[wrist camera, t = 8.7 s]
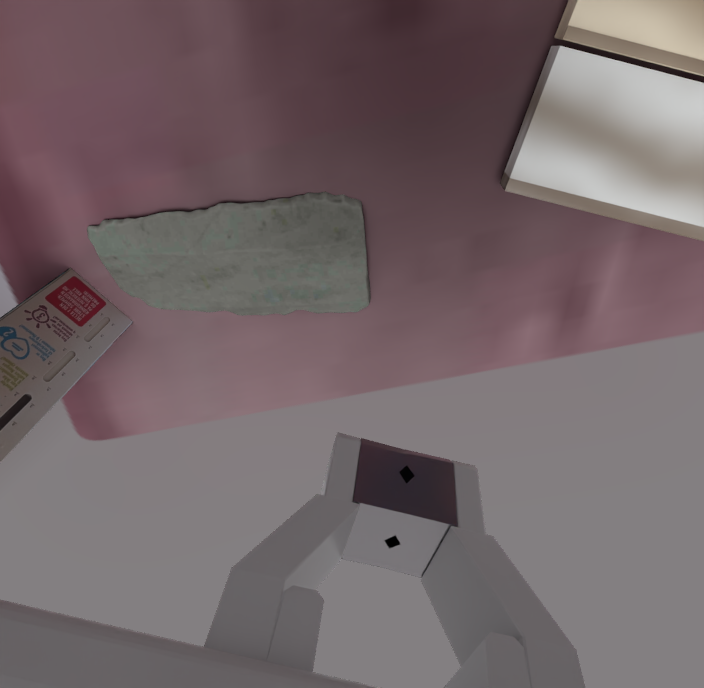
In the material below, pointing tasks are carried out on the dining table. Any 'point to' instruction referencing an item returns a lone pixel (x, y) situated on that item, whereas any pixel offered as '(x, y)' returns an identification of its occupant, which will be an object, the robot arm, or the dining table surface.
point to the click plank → (613, 143)
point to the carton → (50, 350)
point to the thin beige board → (640, 30)
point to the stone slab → (243, 256)
